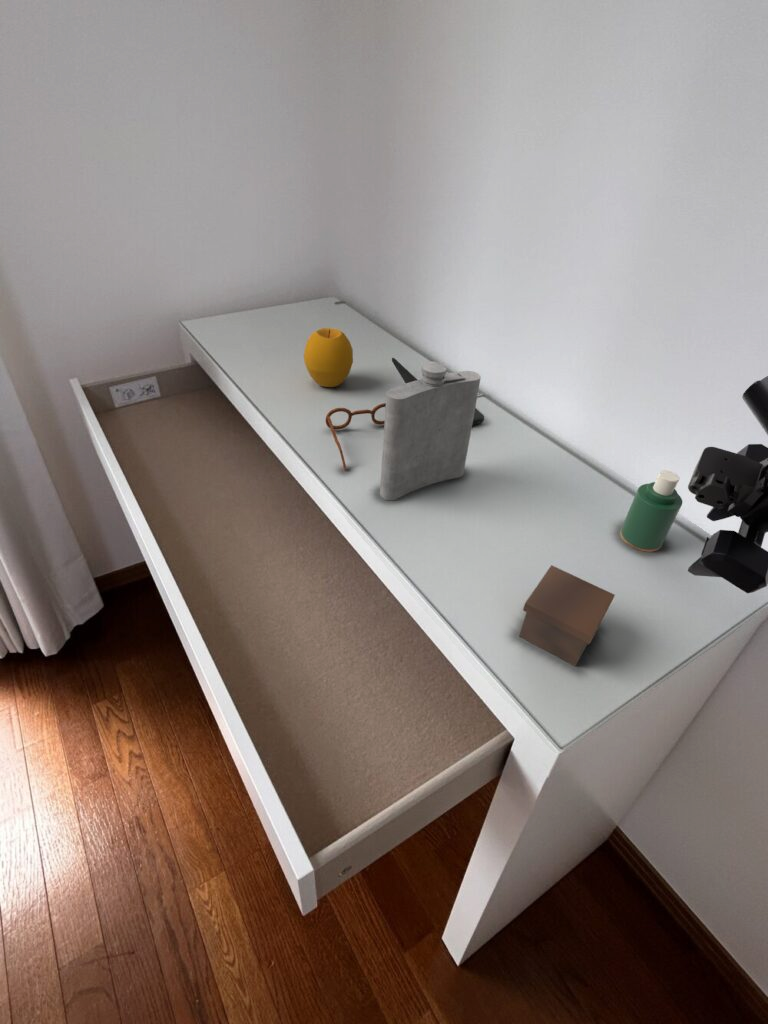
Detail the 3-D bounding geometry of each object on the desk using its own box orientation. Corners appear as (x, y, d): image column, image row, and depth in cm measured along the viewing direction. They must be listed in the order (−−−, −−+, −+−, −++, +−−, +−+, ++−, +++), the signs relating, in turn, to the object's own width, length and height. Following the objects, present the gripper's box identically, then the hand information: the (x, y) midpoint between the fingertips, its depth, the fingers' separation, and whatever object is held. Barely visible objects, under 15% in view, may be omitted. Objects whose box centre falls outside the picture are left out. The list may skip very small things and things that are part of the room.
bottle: (671, 543, 83) (702, 483, 76) (641, 553, 81) (669, 492, 74) (642, 519, 88) (668, 459, 81) (612, 528, 85) (637, 467, 79)
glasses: (393, 423, 106) (395, 399, 103) (418, 462, 97) (421, 436, 94) (325, 431, 103) (324, 406, 100) (343, 472, 93) (343, 446, 90)
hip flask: (386, 502, 88) (396, 383, 75) (373, 488, 90) (379, 371, 78) (467, 474, 95) (488, 361, 82) (452, 462, 97) (470, 351, 85)
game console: (486, 424, 108) (494, 380, 102) (422, 436, 103) (427, 391, 97) (446, 387, 119) (452, 346, 113) (386, 397, 114) (389, 354, 108)
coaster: (663, 533, 86) (664, 531, 86) (659, 557, 82) (660, 555, 81) (623, 520, 88) (624, 518, 88) (617, 542, 84) (618, 540, 83)
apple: (310, 398, 112) (309, 340, 104) (299, 376, 119) (297, 321, 111) (358, 393, 115) (360, 336, 107) (344, 372, 122) (345, 317, 114)
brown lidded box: (600, 627, 71) (615, 594, 67) (577, 670, 66) (592, 637, 62) (540, 597, 74) (551, 564, 70) (514, 636, 69) (524, 603, 65)
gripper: (752, 383, 63) (664, 460, 76) (711, 500, 53) (619, 563, 67) (845, 437, 61) (739, 506, 75) (819, 566, 52) (704, 617, 66)
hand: (700, 544), depth 71 cm, fingers open, 9 cm apart
